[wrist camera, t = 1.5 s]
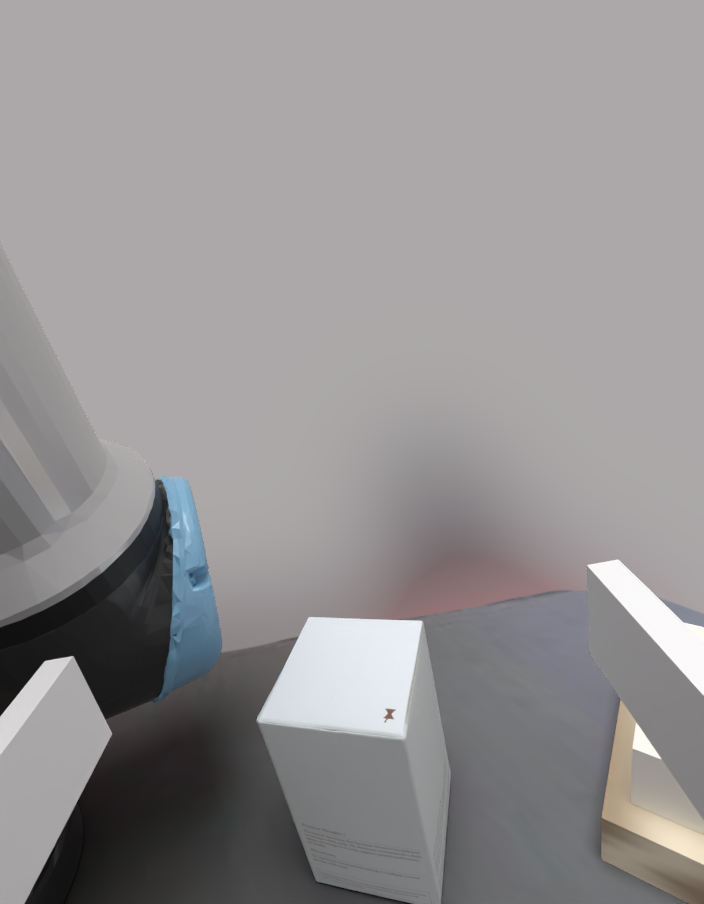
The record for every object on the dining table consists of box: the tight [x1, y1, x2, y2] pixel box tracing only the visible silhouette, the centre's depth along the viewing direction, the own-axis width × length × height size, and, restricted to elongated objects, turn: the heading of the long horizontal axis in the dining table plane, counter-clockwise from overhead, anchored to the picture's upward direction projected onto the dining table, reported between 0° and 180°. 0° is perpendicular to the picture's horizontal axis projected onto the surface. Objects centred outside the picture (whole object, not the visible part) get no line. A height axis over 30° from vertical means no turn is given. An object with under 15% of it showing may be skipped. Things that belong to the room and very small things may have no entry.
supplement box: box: [257, 617, 451, 904], centre depth 26 cm, size 7×7×13 cm
